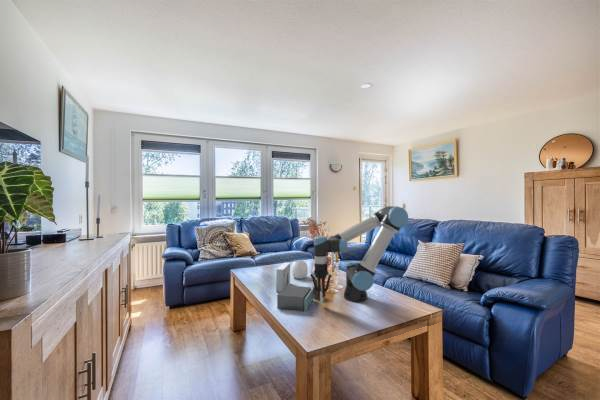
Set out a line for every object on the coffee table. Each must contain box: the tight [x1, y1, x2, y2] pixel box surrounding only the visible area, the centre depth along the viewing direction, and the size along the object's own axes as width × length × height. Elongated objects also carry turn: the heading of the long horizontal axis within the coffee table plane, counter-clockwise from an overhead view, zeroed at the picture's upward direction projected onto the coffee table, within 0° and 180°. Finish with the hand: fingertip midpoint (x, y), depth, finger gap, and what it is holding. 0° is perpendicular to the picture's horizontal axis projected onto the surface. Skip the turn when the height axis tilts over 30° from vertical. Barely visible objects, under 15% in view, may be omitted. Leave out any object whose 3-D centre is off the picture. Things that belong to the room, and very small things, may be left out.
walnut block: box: [312, 285, 320, 300], centre depth 172 cm, size 4×4×7 cm
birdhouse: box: [303, 288, 314, 312], centre depth 161 cm, size 16×18×7 cm
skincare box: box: [275, 262, 291, 293], centre depth 193 cm, size 21×6×16 cm, turn 168°
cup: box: [291, 259, 309, 280], centre depth 217 cm, size 13×13×14 cm
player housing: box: [276, 285, 312, 312], centre depth 162 cm, size 16×18×8 cm
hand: (321, 302), depth 158 cm, fingers closed
